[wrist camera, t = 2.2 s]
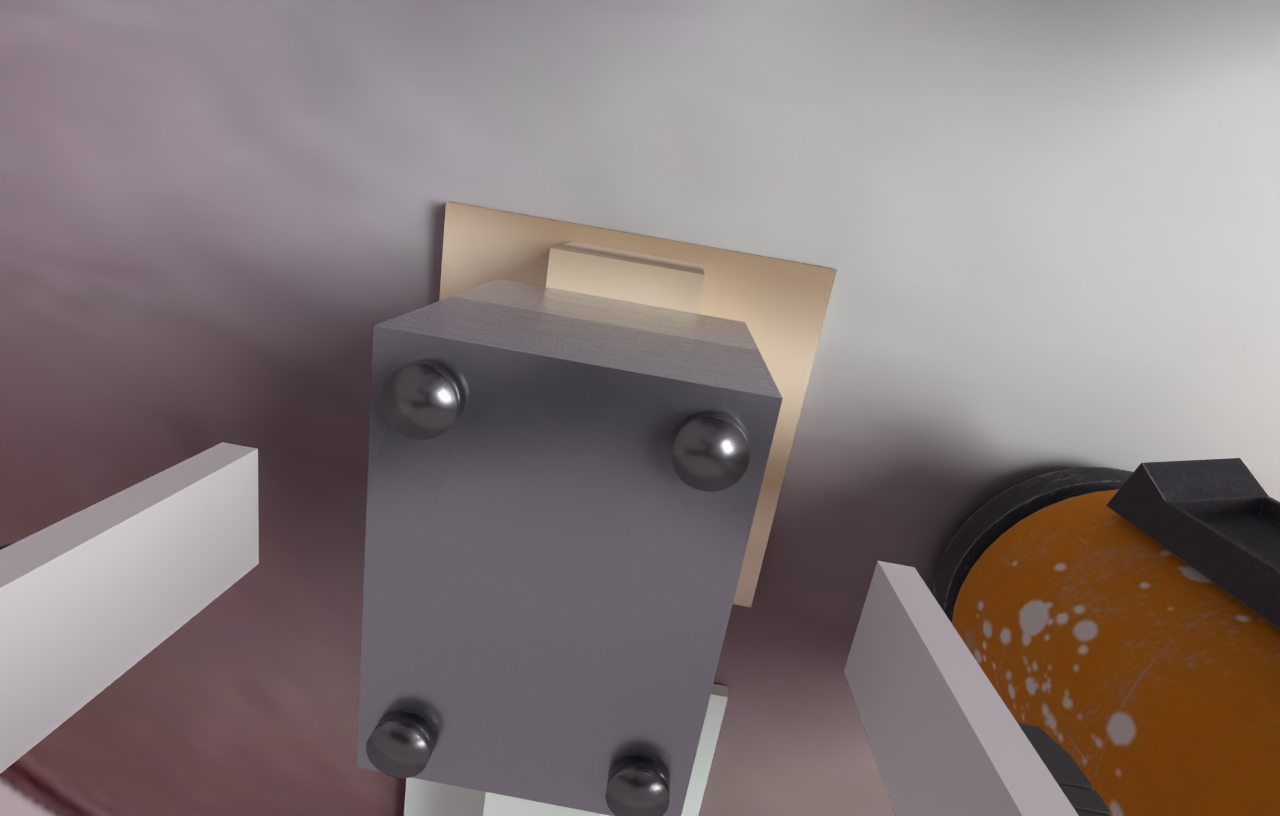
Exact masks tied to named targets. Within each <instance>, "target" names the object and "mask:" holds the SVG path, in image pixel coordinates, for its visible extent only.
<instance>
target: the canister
mask: <svg viewBox="0 0 1280 816" xmlns="http://www.w3.org/2000/svg"><path fill="white" fill-rule="evenodd" d="M932 595H933V596H934V598H935V599H936V601H937V602H938V604H939V605H940V607H941V608H942V610H943V611H944V613H945V614H946V616H947V617H948V619H949V620H950V622H951V623H952V625H953V626H954V628H955V629H956V631H957V632H958V634H959V635H960V637H961V638H962V640H963V642H964V643H965V645H966V646H967V648H968V649H969V651H970V652H971V654H972V655H973V657H974V658H975V660H976V661H977V663H978V664H979V666H980V667H981V669H982V670H983V672H984V673H985V675H986V676H987V678H988V679H989V681H990V682H991V684H992V685H993V687H994V688H995V690H996V691H997V693H998V694H999V696H1000V697H1001V699H1002V700H1003V702H1004V703H1005V705H1006V707H1007V708H1008V710H1009V711H1010V713H1011V714H1012V716H1013V717H1014V719H1015V720H1016V722H1017V723H1022V724H1027V725H1032V726H1038V727H1040V728H1041V729H1042V730H1043V731H1044V732H1045V733H1046V734H1047V735H1049V736H1050V737H1051V738H1052V739H1053V740H1054V741H1055V742H1056V743H1057V744H1059V745H1060V746H1061V747H1062V748H1063V749H1064V750H1065V751H1066V752H1068V753H1069V754H1070V755H1071V757H1072V758H1073V760H1074V761H1075V762H1076V764H1077V765H1078V766H1079V768H1080V769H1081V771H1082V772H1083V773H1084V775H1085V776H1086V778H1087V779H1088V780H1089V782H1090V783H1091V785H1092V790H1093V791H1097V793H1098V794H1099V796H1100V797H1101V798H1102V800H1103V801H1104V803H1105V804H1106V805H1107V807H1108V808H1109V810H1110V815H1111V816H1280V502H1279V501H1277V500H1275V499H1273V498H1271V497H1269V496H1268V495H1267V494H1266V492H1265V491H1264V490H1263V488H1262V487H1261V486H1260V484H1259V483H1258V482H1257V480H1256V479H1255V478H1254V476H1253V475H1252V474H1251V472H1250V471H1249V470H1248V468H1247V467H1246V466H1245V464H1244V463H1243V462H1242V460H1241V459H1240V458H1233V459H1213V460H1192V461H1171V462H1150V463H1141V464H1140V465H1139V467H1138V468H1137V469H1136V470H1135V471H1134V472H1131V471H1125V470H1119V469H1113V468H1101V467H1082V468H1073V469H1064V470H1059V471H1055V472H1051V473H1047V474H1043V475H1039V476H1036V477H1034V478H1031V479H1029V480H1026V481H1024V482H1021V483H1019V484H1016V485H1014V486H1013V487H1011V488H1009V489H1007V490H1005V491H1004V492H1002V493H1000V494H998V495H996V496H995V497H994V498H992V499H991V500H990V501H988V502H987V503H986V504H984V505H983V506H982V507H980V508H979V509H978V510H977V511H976V512H975V513H974V514H973V515H972V516H971V517H970V518H969V519H968V520H967V521H966V522H965V523H964V524H963V525H962V526H961V527H960V529H959V530H958V531H957V533H956V534H955V535H954V537H953V538H952V539H951V540H950V542H949V544H948V546H947V548H946V550H945V552H944V553H943V555H942V557H941V559H940V562H939V565H938V568H937V571H936V574H935V579H934V586H933V592H932Z"/></svg>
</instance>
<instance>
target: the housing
mask: <svg viewBox="0 0 1280 816" xmlns="http://www.w3.org/2000/svg"><path fill="white" fill-rule="evenodd" d="M782 399H783V398H782V396H781V394H780V392H779V390H778V388H777V386H776V384H775V382H774V380H773V378H772V376H771V374H770V372H769V370H768V368H767V366H766V363H765V361H764V359H763V357H762V355H761V353H760V351H759V349H758V347H757V345H756V343H755V341H754V339H753V337H752V335H751V333H750V331H749V329H748V327H747V325H746V323H745V322H742V321H736V320H730V319H725V318H719V317H713V316H708V315H702V314H696V313H690V312H685V311H679V310H673V309H668V308H662V307H656V306H651V305H645V304H639V303H634V302H628V301H622V300H617V299H611V298H605V297H600V296H594V295H588V294H583V293H577V292H571V291H566V290H560V289H554V288H549V287H543V286H537V285H532V284H526V283H520V282H515V281H509V280H503V279H496V280H494V281H491V282H488V283H486V284H483V285H480V286H478V287H475V288H472V289H470V290H467V291H464V292H462V293H459V294H456V295H454V296H451V297H448V298H446V299H443V300H440V301H438V302H435V303H432V304H430V305H427V306H424V307H422V308H419V309H416V310H414V311H411V312H408V313H406V314H403V315H400V316H397V317H395V318H392V319H389V320H387V321H384V322H381V323H379V324H376V325H373V348H372V375H371V401H370V428H369V454H368V481H367V507H366V533H365V560H364V586H363V613H362V639H361V665H360V692H359V718H358V745H357V767H359V768H364V769H369V770H375V771H380V772H382V773H384V774H386V775H389V776H391V777H395V778H410V777H411V778H416V779H421V780H427V781H432V782H437V783H442V784H447V785H453V786H458V787H463V788H468V789H474V790H479V791H484V792H489V793H494V794H500V795H505V796H510V797H515V798H520V799H526V800H531V801H536V802H541V803H546V804H552V805H557V806H562V807H567V808H572V809H578V810H583V811H588V812H593V813H598V814H604V815H609V816H681V815H682V810H683V806H684V802H685V798H686V794H687V790H688V786H689V782H690V778H691V773H692V769H693V765H694V761H695V757H696V753H697V749H698V745H699V741H700V736H701V732H702V728H703V724H704V720H705V716H706V712H707V708H708V704H709V699H710V695H711V691H712V687H713V683H714V679H715V675H716V671H717V667H718V662H719V658H720V654H721V650H722V646H723V642H724V638H725V634H726V630H727V625H728V621H729V617H730V613H731V609H732V605H733V601H734V597H735V593H736V588H737V584H738V580H739V576H740V572H741V568H742V564H743V560H744V556H745V551H746V547H747V543H748V539H749V535H750V531H751V527H752V523H753V519H754V514H755V510H756V506H757V502H758V498H759V494H760V490H761V486H762V482H763V477H764V473H765V469H766V465H767V461H768V457H769V453H770V449H771V445H772V441H773V436H774V432H775V428H776V424H777V420H778V416H779V412H780V408H781V404H782Z"/></svg>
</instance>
